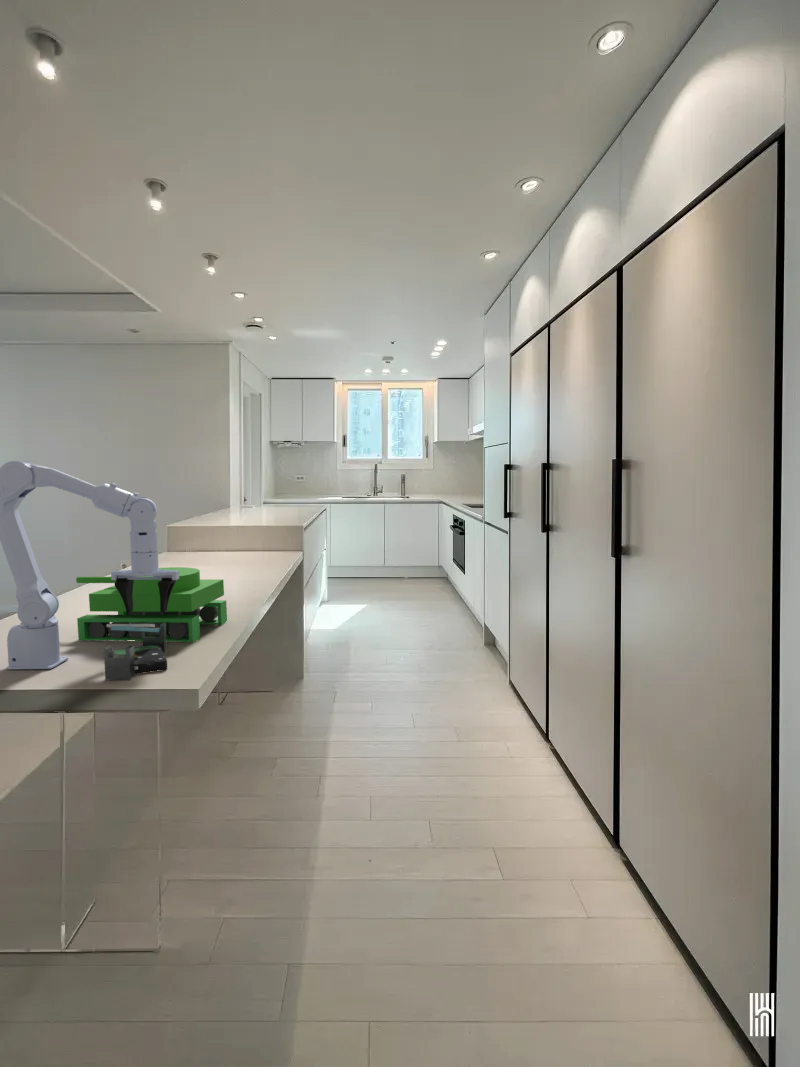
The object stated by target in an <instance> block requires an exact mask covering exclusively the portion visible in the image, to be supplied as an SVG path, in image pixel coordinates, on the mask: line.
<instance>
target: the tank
mask: <svg viewBox="0 0 800 1067" xmlns="http://www.w3.org/2000/svg"><path fill="white" fill-rule="evenodd" d="M159 570H179V579H177V580H176V582H175V584H174V587H173V589H172V591H171V594H170V597H169V600H168V605H167V611H165V612H161V610H160V592H159V587H158V582H159V581H162V580H134V583H133V611H131V612H126V608H125V605H124V602H123V599H122V597H121V595H120V593H119V592H118V590H117V589H116V587H115V585H113V586H110V587H106V588H103V589H100V590H96V591H94V592H91V593H88V602H89V612H117V614H85V615H83V616H80V617H77V618H76V620H77V635H78V636H77V637H78V641H81V640H135V641H134V642H139V641H142V632H133V631H116V630H111V627H107V624H143V623H147V624H150V623H151V624H155V627H147V628H160V624H162V623H166V632H167V635H166V641H180V642H179V643H189V642H194V641H195V642H197V641H198V639H199V638H200V639H201V632H200V631H201V629H200V628H201V627H200V625H215V624H218V626H222V625H224V624H226V623H227V622H228V610H227V609H228V608H227V599H226V600H225V599H222V600H221V599H219V598H222V597H223V596H225V588H224V587H225V586H224V579H219V578H218V579H201V574H200V569H199V568H194V567H181V566H180V567H179V566H178V567H175V566H174V567H159ZM146 577H153V576H146ZM75 582H76V583H77V584H114V583H116V580H111V576H77V577H76V581H75ZM226 621H227V622H226ZM225 622H226V623H225ZM169 623H171V624H169ZM223 623H224V624H223ZM148 635H161V633H148ZM200 639H199V640H200ZM196 640H197V641H196ZM195 642H194V643H195Z"/></svg>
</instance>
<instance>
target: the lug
mask: <svg viewBox="0 0 800 1067" xmlns="http://www.w3.org/2000/svg"><path fill="white" fill-rule="evenodd" d="M134 647H135V645H129V646H127V647H126V649H125V650H126V654H113V650H114V649H113V645H108V646H106V647H105V648H103V658H104V678H105V679H104V680H105V681H131V680H132V679H133V678H135V677H136V676H135V675H136V674H135V669H134Z"/></svg>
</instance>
